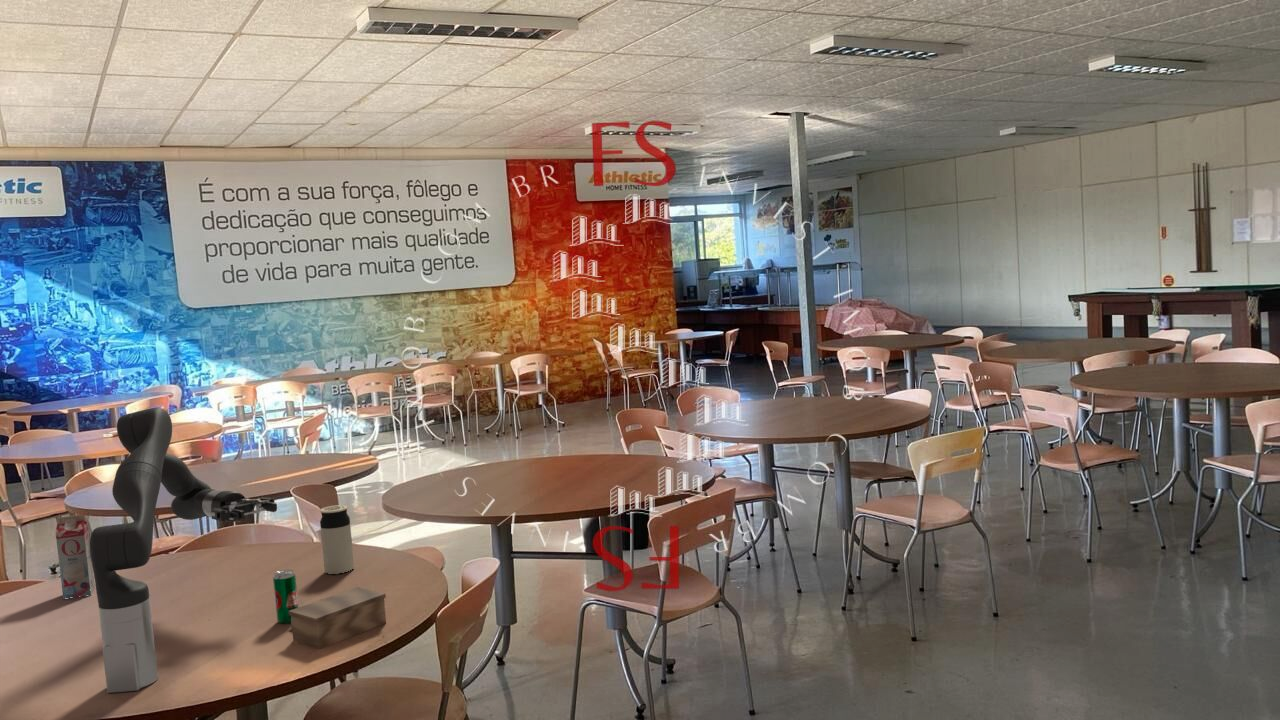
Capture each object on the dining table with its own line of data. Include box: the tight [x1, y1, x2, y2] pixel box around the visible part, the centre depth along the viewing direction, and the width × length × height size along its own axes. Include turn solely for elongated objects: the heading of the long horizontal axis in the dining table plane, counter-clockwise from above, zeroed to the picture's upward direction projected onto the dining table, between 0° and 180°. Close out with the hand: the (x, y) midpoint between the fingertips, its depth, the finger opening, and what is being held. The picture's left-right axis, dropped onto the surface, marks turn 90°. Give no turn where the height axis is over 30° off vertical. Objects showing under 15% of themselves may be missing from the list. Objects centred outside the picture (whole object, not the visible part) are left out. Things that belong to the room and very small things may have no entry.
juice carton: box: [55, 514, 96, 599], centre depth 264 cm, size 7×7×22 cm
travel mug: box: [319, 504, 355, 575], centre depth 271 cm, size 8×8×18 cm
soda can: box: [272, 569, 300, 625], centre depth 231 cm, size 5×5×12 cm
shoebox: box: [288, 586, 387, 650], centre depth 221 cm, size 19×11×7 cm, turn 142°
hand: (259, 511), depth 234 cm, fingers open, 8 cm apart
